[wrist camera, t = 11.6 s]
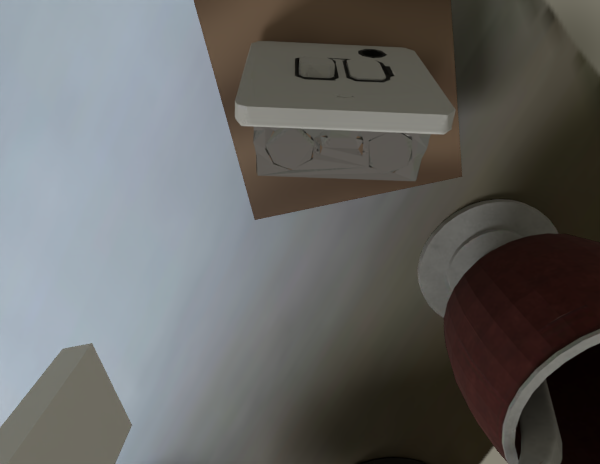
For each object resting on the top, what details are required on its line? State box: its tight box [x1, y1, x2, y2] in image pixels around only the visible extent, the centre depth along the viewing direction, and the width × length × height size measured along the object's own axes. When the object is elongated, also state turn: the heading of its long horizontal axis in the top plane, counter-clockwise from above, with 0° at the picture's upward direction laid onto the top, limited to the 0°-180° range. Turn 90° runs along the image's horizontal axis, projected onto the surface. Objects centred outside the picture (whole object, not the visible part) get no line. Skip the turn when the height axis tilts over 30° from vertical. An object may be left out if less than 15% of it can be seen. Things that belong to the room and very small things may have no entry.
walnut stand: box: [194, 0, 462, 220], centre depth 28 cm, size 14×14×6 cm
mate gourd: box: [418, 199, 600, 464], centre depth 28 cm, size 16×14×20 cm
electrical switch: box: [235, 41, 456, 181], centre depth 21 cm, size 9×5×9 cm, turn 88°
